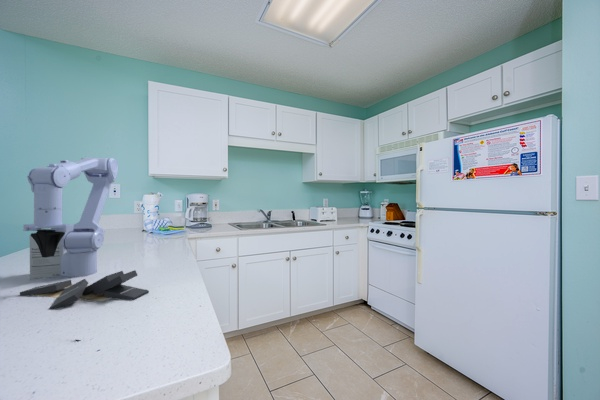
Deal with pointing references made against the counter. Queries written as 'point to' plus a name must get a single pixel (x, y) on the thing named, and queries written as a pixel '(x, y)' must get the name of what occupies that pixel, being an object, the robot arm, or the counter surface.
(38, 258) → the supplement box
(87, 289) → the domino
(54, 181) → the robot arm
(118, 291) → the domino
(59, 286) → the domino
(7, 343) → the counter surface
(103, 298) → the board
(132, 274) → the domino
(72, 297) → the domino
